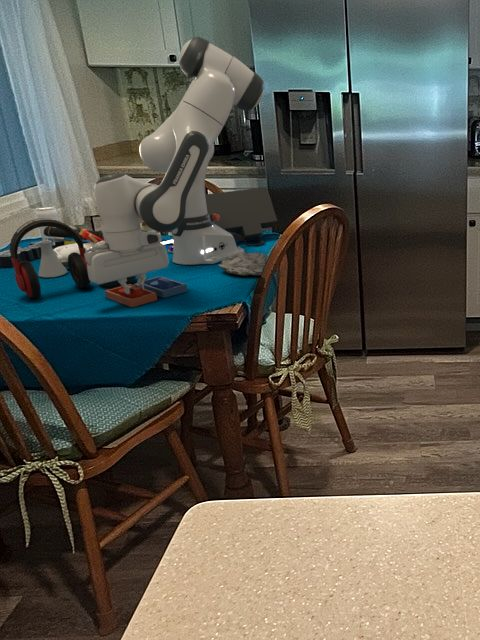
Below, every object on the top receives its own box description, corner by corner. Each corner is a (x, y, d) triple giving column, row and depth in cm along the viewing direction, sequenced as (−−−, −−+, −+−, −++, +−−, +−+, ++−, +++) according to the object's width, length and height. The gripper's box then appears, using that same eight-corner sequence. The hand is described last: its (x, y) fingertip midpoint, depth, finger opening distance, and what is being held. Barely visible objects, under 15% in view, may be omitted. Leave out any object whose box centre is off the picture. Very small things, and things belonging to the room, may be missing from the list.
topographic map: (151, 225, 236) (152, 220, 235) (178, 237, 225) (179, 232, 224) (96, 223, 221) (97, 217, 221) (122, 236, 211) (123, 229, 210)
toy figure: (113, 254, 217) (78, 236, 207) (107, 247, 221) (72, 230, 211) (117, 248, 217) (83, 230, 207) (111, 241, 221) (76, 223, 211)
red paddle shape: (147, 297, 172) (144, 287, 171) (134, 300, 170) (131, 290, 168) (129, 291, 177) (127, 281, 176) (116, 294, 174) (114, 284, 173)
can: (68, 241, 229) (59, 207, 224) (49, 245, 224) (40, 210, 219) (58, 238, 232) (49, 205, 227) (39, 242, 227) (30, 208, 222)
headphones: (87, 281, 187) (70, 211, 179) (99, 289, 181) (82, 217, 172) (18, 295, 176) (-4, 221, 168) (28, 304, 170) (6, 227, 161)
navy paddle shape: (177, 289, 179) (176, 279, 178) (165, 293, 176) (164, 283, 175) (160, 283, 184) (158, 274, 182) (148, 287, 181) (146, 277, 180)
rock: (259, 255, 207) (214, 271, 199) (256, 243, 204) (210, 258, 197) (284, 273, 195) (237, 290, 188) (281, 260, 193) (233, 277, 186)
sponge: (56, 241, 211) (57, 250, 212) (82, 240, 210) (83, 249, 211) (77, 242, 221) (78, 251, 221) (102, 242, 220) (103, 250, 221)
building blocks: (185, 242, 222) (185, 247, 223) (164, 245, 216) (164, 250, 217) (197, 246, 219) (197, 251, 220) (176, 249, 213) (176, 254, 214)
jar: (93, 283, 186) (87, 256, 183) (129, 275, 192) (124, 250, 189) (106, 290, 179) (100, 264, 176) (143, 283, 186) (137, 257, 183)
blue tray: (138, 289, 181) (136, 282, 180) (161, 282, 186) (160, 276, 185) (163, 298, 174) (162, 291, 173) (187, 291, 179) (186, 284, 178)
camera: (186, 212, 230) (199, 255, 230) (194, 195, 216) (208, 241, 216) (255, 203, 243) (267, 243, 243) (266, 186, 229) (280, 229, 229)
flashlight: (48, 235, 218) (129, 241, 225) (42, 240, 214) (125, 246, 220) (46, 223, 217) (128, 229, 223) (41, 227, 212) (124, 234, 218)
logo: (47, 237, 220) (72, 239, 218) (49, 247, 221) (74, 249, 219) (-13, 255, 199) (14, 258, 197) (-10, 265, 201) (17, 268, 198)
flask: (55, 279, 189) (46, 245, 185) (33, 277, 191) (24, 243, 186) (72, 271, 196) (64, 239, 192) (52, 270, 197) (43, 237, 193)
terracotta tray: (106, 297, 174) (104, 290, 174) (131, 290, 180) (130, 283, 179) (131, 307, 168) (130, 300, 167) (157, 299, 173) (156, 292, 172)
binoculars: (110, 257, 210) (107, 243, 208) (57, 268, 198) (53, 253, 197) (95, 251, 216) (92, 237, 214) (43, 262, 205) (39, 247, 203)
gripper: (89, 250, 156) (102, 305, 162) (166, 234, 171) (176, 284, 177) (76, 246, 160) (89, 300, 166) (153, 230, 175) (163, 280, 181)
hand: (134, 291), depth 171 cm, fingers closed on red paddle shape
